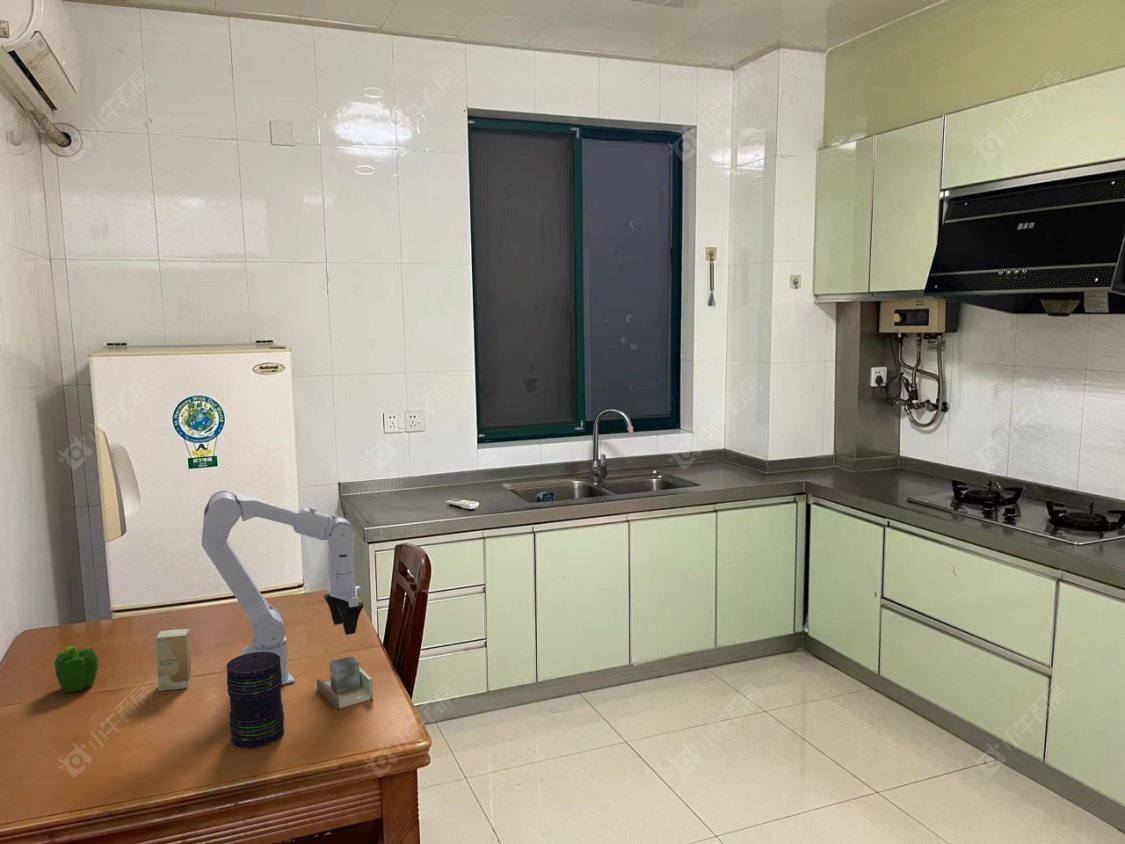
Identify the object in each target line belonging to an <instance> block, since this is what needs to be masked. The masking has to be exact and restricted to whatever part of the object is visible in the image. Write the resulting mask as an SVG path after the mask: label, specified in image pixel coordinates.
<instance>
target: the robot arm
mask: <svg viewBox="0 0 1125 844" xmlns="http://www.w3.org/2000/svg"><path fill="white" fill-rule="evenodd" d="M240 518H241V520H242V522H245V521H249V520H251V519H253V518H260V519H263V520H268V521H273V522H277V523H280V524H283V525H289V526H292V529H293V531H294V533H296V534H299V535H302V536H306V537H309V538H313V539H317V540H319V541H328V542H327V544H328V552H327V558H328V559H327V560H328V579H329V580H328V583H327V588H328V589H327V590H328V594H324V595H323V598H324V600H325V601H326V604H327V607H328V609H329V612H330V615H331V619H332V622H333V625H334V626H338V625H341V624H342V625H343V630H344V634H345V635H346V636H349V635H353V634H355V633H356V631H357V627H358V621H359V617H360V614H361V611H362V610H363V608H364V605H365V604H364V603H363V602H361V601H360V602H359V597H358V595H357V594H358V592H361V590H362V589H361V586H360V585H356V569H355V568H356V567H355V566H356V565H355V550H354V541H355V539H356V535H357V533H356V532H355V528H354V527H353V526H352V524H351V523H350V521H349V520H347V519H346V518H344V517H342V516H339V515H336V514H333V513H332V514H331V515H330V514H325V513H322V512H319V511H317V509H316V508H315V507H312V506H310V507H309V508H306V507H303V508H301V509H299V510H294V509H290V508H287V507H284V506H281V505H277V504H276V503H272V502H269V501H267V500H264V499H260V498H258V497H255V496H250V495H247V494H244V493H238V492H237V493H234V492H232V491H230V490H219V491H217V492H215V493H213V494H212V495H210V497H209V500H208V501H207V503H206V506H205V508H204V510H203V520H202V521H203V523H202V531H201V532H202V533H201V546H202V548H203V550H204V551H205V553H206V555H207V556H208V557H209V559H210V561H211V562H212V564H213V565H214V567H215V568H216V569H217V571H218V573H219V574H220V576H221V578H222V579H223V580H224V582H225V583H226V585H227V587H228V588H229V589H230V591H231V593H232V594H233V596H234V597H235V598H236V600H237V602H238V603H239V604H240V606H241V608H242V609H243V610H244V612H245V614H246V617H247V619H248V620H249V623H250V625H251V626H252V628H253V630H254V638H253V639H252V642H251V643H252V644H250V645H248V646H246V647H243V648H241V653H240V654H241V655H244V654H249V653H255V652H271V653H275V654H278V655H279V656H280V665H281V672H282V677H281V680H282V686H283V685H288V684H291V683H294V682H295V678H294V677H293V676H292V674H291V673H290V672H289V660H288V659H289V657H288V655H289V654H288V640H287V636H286V632H287V631H286V627H285V625H284V622H283V617H282V613H281V612H280V611H279V610H278V609H277V608H276V607H273V606H272V605H271V604H270V603H269V602H268V600H267V599H266V598H265V597H264V596H263V594H262V593H261V591H260V590H259V588H258V587H257V585H256V584H255V582H254V580H253V579H252V577H251V576H250V574H249V573H248V571H247V569H246V568H245V566H244V565H243V562H242V561H240V559H239V557H238V555H237V554H236V552H235V551H234V549H233V548H232V546H231V545H230V543H229V541H228V538H229V536H230V532H231V530H232V529H233V528H234V526H235V525H236V524H237V523H238V521H239V520H240ZM241 655H240V656H241Z"/></svg>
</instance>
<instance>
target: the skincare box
mask: <svg viewBox="0 0 1125 844" xmlns="http://www.w3.org/2000/svg"><path fill="white" fill-rule="evenodd" d="M155 639H156V662H157V664H156V665H157V666H156V667H157V686H158V691H160V692H163V691H169V690H182V689H189V687H190V686H191V683H192V679H193V678H192V657H191V654H192V653H191V631H190V628H181V629H169V630H168V629H167V630H159V632H158V634H156V638H155Z"/></svg>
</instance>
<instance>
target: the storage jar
mask: <svg viewBox="0 0 1125 844" xmlns="http://www.w3.org/2000/svg"><path fill="white" fill-rule="evenodd" d="M281 677H282V672H281V665H280V656H279V655H278V654H275V653H271V652H255V653H249V654H244V655H238V656H236V657H234V658H232V659H230V660H229V661H228V662H227V663H226V685H227V694H228V696H229V704H230V712H229V729H230V735H231V737H230V739H231V740H230V742H231V744H232V745H233V746H234V747H236V748H238V749H242V750H243V749H245V750H250V749H251V750H254V749H259V748H264V747H268V746H270V745H273V744H274V743H276V742H278V741H280V740H281V739H282V738H283V736H285V735H284V734H285V727H284V725H285V722H284V721H285V712H284V706H283V705H284V704H283V703H282V689H281V688H282V687H283V685H282V680H281Z"/></svg>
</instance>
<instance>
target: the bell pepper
mask: <svg viewBox="0 0 1125 844" xmlns="http://www.w3.org/2000/svg"><path fill="white" fill-rule="evenodd" d="M63 651H64V652H63V653H58V654H57V656H56V659H55V662H54V669H55V676H56V678H57V681H58V684H59V685H60V687H61V688H62V690H63V691H64V692H65V693H77V692H79V691H82V690H83V689H84V688H85V689H86V688H88V687H92V686H93V684H94V682H95V680H96V678H97V676H98V675H97V673H98V668H99V656H98V655H97V654H96V652H95V650H94V649H93V648H91V647H90V648H86V649H83V650H81V649H77V648H76V647H75V646H72V645H71V646H67V647H66V648H65V649H64V650H63Z"/></svg>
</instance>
